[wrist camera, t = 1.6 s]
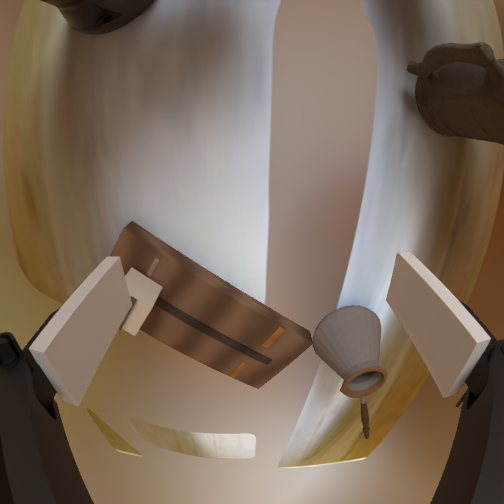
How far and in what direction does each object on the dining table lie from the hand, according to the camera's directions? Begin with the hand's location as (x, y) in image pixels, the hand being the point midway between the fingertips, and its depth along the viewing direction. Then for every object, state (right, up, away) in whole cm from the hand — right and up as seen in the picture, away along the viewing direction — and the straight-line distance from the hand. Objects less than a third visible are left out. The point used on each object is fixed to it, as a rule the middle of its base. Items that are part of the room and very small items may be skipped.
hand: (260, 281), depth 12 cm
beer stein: (+24, +23, +15) cm, 37 cm away
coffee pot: (+16, -15, +33) cm, 40 cm away
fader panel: (-8, -8, +30) cm, 32 cm away
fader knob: (-16, -4, +24) cm, 29 cm away
